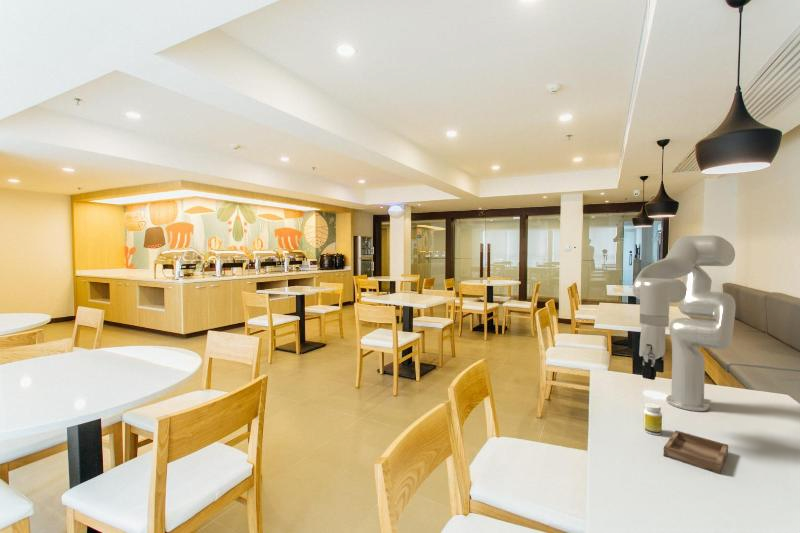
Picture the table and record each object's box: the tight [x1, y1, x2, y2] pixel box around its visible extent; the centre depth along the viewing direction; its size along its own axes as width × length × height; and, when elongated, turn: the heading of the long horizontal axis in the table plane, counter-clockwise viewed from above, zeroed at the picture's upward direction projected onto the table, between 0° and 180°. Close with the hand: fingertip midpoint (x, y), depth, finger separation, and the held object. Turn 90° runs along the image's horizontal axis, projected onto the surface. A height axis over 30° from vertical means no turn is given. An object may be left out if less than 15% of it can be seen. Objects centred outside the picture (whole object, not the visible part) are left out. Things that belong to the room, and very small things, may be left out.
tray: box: [663, 430, 729, 475], centre depth 105 cm, size 14×12×2 cm
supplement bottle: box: [643, 402, 663, 436], centre depth 119 cm, size 5×5×8 cm
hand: (653, 375), depth 118 cm, fingers open, 9 cm apart
